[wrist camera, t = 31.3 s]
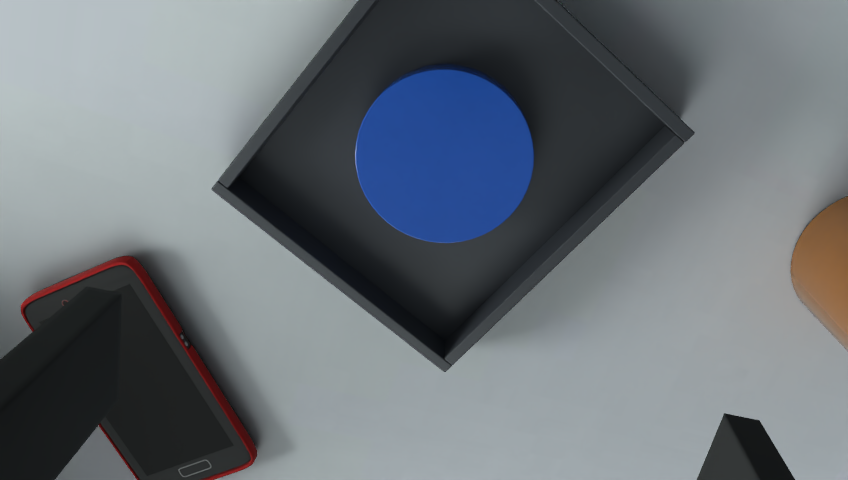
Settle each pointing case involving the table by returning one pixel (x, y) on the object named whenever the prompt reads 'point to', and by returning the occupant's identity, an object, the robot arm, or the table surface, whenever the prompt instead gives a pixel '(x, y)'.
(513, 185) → the lid
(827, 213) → the jar
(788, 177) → the table surface
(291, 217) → the tray
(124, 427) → the cell phone
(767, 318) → the table surface
